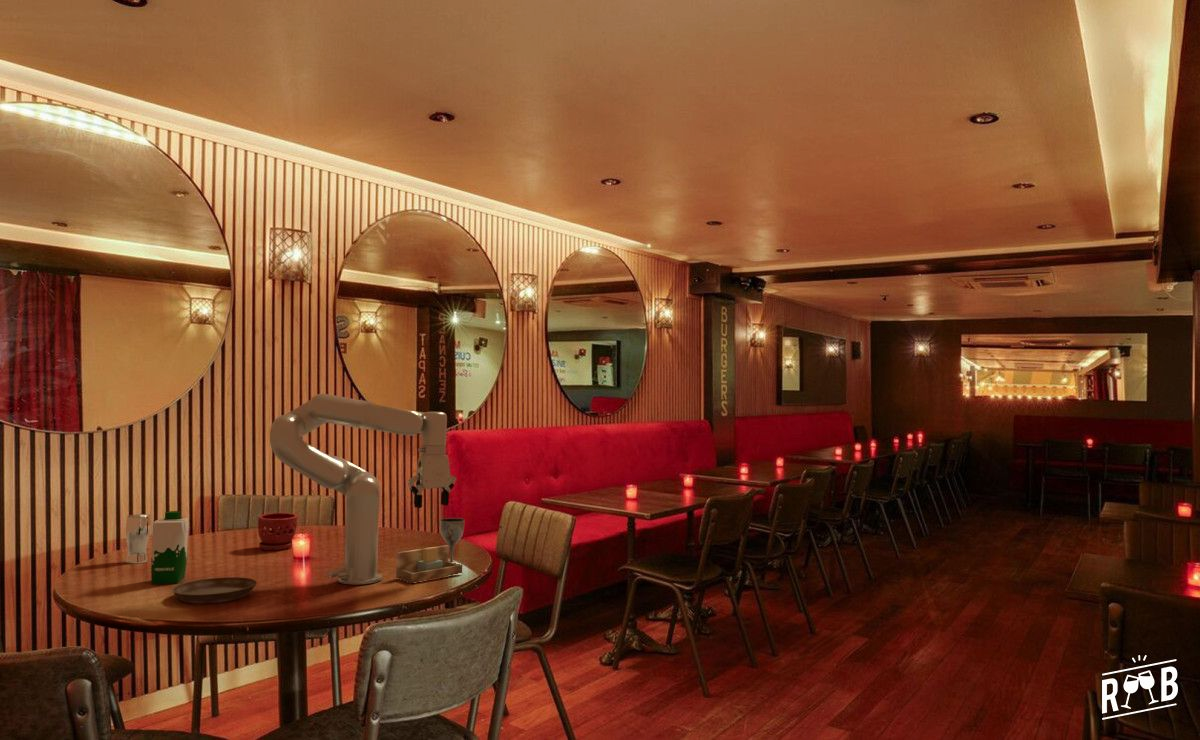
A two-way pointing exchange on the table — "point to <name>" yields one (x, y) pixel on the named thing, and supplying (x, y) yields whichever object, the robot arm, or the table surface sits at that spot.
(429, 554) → the grey square block
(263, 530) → the plant pot
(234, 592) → the plant saucer
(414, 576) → the board
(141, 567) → the table surface
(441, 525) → the wine glass
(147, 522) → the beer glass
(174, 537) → the milk carton
